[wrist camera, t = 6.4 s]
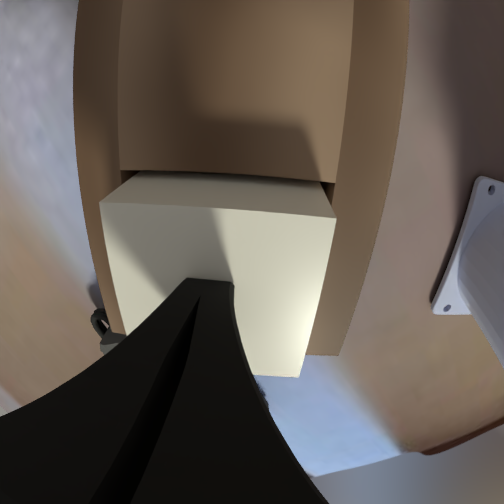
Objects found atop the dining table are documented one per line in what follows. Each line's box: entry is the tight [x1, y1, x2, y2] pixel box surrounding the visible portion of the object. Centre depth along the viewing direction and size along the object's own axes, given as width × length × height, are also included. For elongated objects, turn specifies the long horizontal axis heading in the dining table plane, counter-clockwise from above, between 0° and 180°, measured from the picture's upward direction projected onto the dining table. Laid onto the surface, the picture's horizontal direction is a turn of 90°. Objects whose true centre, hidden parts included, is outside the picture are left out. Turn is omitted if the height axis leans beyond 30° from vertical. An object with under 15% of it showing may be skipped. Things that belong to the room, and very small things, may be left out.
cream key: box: [99, 171, 337, 377], centre depth 10 cm, size 6×6×3 cm
